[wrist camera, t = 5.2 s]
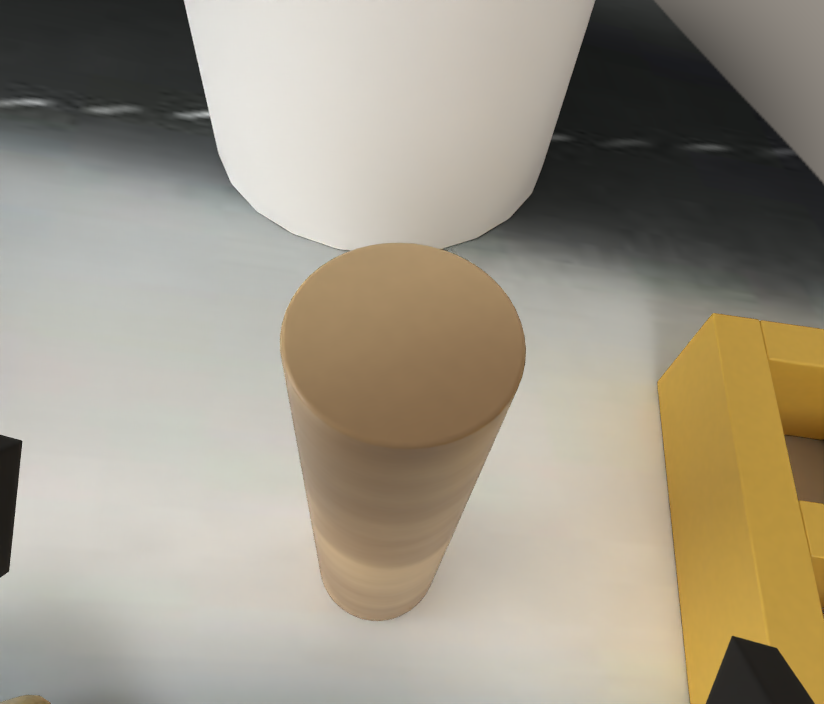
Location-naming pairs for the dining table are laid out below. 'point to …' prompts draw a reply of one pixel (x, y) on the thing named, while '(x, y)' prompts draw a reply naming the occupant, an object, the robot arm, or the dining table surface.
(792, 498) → the yellow peg holder
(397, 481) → the peg
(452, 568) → the dining table surface
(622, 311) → the dining table surface
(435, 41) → the cylinder
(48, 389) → the dining table surface
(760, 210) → the dining table surface
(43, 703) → the pastry
